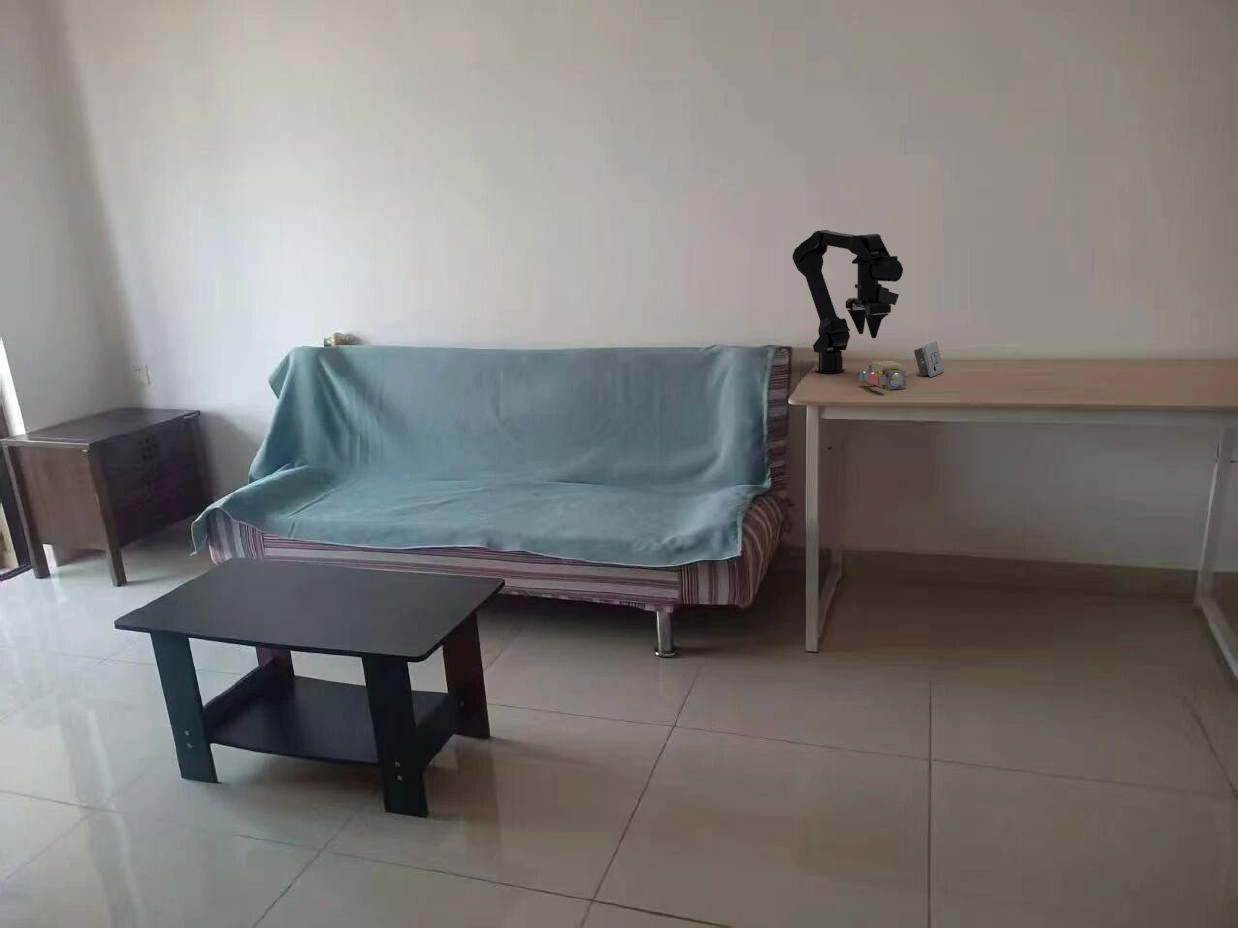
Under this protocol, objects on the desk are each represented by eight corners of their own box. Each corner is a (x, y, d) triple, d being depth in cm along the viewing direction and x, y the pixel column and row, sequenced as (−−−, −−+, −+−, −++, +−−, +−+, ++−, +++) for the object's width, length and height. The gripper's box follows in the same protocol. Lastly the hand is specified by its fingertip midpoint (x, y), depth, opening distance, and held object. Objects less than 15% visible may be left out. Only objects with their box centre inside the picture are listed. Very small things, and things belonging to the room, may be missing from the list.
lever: (858, 370, 262) (878, 375, 249) (865, 369, 263) (885, 374, 250) (858, 381, 263) (878, 386, 250) (865, 380, 263) (886, 386, 250)
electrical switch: (932, 378, 269) (930, 345, 267) (914, 378, 273) (912, 346, 271) (944, 372, 276) (942, 340, 274) (927, 373, 280) (925, 341, 278)
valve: (857, 381, 270) (858, 360, 268) (884, 379, 271) (885, 358, 269) (879, 391, 255) (880, 369, 254) (908, 388, 256) (908, 366, 255)
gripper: (909, 280, 259) (908, 338, 263) (881, 276, 277) (881, 330, 281) (870, 283, 258) (870, 341, 262) (844, 279, 276) (844, 333, 280)
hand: (867, 336), depth 271 cm, fingers open, 9 cm apart
